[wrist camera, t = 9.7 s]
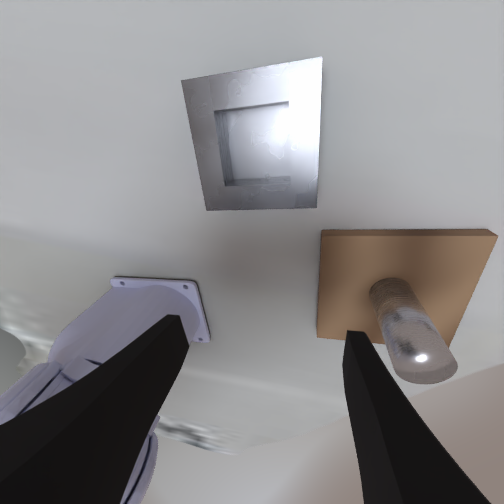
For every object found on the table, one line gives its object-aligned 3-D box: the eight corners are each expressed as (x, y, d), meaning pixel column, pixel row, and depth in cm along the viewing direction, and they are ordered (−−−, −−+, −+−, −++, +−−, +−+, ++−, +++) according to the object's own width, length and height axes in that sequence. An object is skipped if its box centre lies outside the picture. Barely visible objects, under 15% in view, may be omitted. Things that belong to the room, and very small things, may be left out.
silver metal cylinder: (370, 309, 18) (395, 383, 13) (367, 280, 17) (392, 349, 12) (411, 305, 17) (455, 384, 12) (411, 275, 16) (459, 347, 11)
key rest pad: (316, 328, 22) (316, 337, 21) (321, 229, 17) (322, 235, 16) (441, 340, 19) (447, 350, 18) (487, 229, 15) (498, 236, 14)
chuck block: (219, 199, 17) (206, 210, 15) (200, 86, 14) (181, 80, 12) (315, 196, 16) (316, 207, 14) (320, 67, 12) (322, 56, 10)
